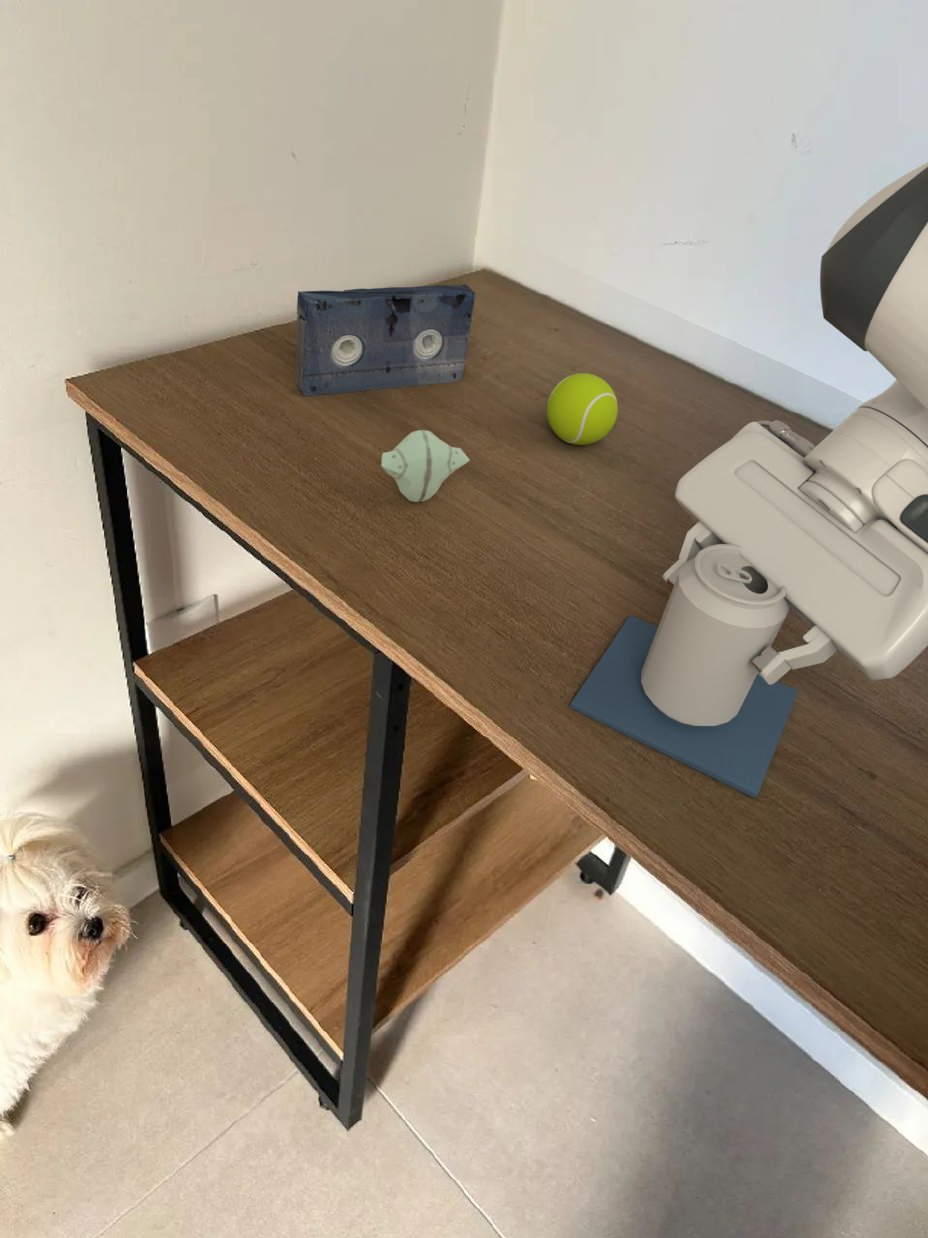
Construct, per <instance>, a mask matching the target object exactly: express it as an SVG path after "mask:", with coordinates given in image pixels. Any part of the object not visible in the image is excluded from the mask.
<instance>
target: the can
mask: <svg viewBox="0 0 928 1238" xmlns="http://www.w3.org/2000/svg"><path fill="white" fill-rule="evenodd" d="M741 550H742V548H741V547H740V546H737V545H733V544H717V545H712V546H707V547H706V548H704V549H702V550H701V551H699V552H698V554H697V556H696V557H695V558H693V559H692V560H690V561H688V562H687V563H685V564H684V565H683V567H682V569H681V570H680V572H679V574H678V577H677V579H676V582H675V585H674V587H673V589H672V590H671V592H670V595H669V598H668V600H667V603H666V606H665V608H664V611H663V614H662V616H661V618H660V622H659V624H658V626H657V627H658V629H657V632H656V634H655V637H654V640H653V642H652V645H651V648H650V650H649V653H648V655H647V658H646V661H645V663H644V666H643V669H642V673H641V683H642V686H643V688H644V691H645V693H646V695H647V696H648V697H649V699H650V700H651V701H652V702H653V704H654V705H655V706H657V708H658V709H659V710H660V711H662V712H663V713H664V714H666V715H667V716H668V717H670V718H672V719H674V720H676V721H678V722H680V723H684V724H688V725H692V726H716V725H720V724H723V723H726V722H729V721H730V720H731V719H732V718H734V717H735V716H736V715H737V714H738V712H739V710H740V708H741V706H742V704H743V702H744V700H745V698H746V696H747V694H748V692H749V690H750V688H751V686H752V684H753V682H754V680H755V678H756V676H757V674H758V673H757V672H756V671H755V670H754V669H753V668H752V666H751V665H750V664H751V662H752V660H753V659H754V658H755V657H757V656H761V653H762V651H763V650H764V649H766V648H767V647H768V646H769V645H770V646H771V647H772V646H773V644H774V641H775V640H776V638H777V635H778V633H779V632H780V629H781V627H782V626H783V623H784V621H785V619H786V617H787V615H788V613H789V610H790V607H789V601H788V600H787V599H786V598H785V595H786V592H787V588H786V587H785V586H782V587H781V590H780V591H779V590H778V589H777V588H776V587H775V586H774V585H772V584H771V583H770V582H769V581H768V580H767V579H766V580H767V581H766V580H765V579H764V578H763V577H762V576H761V575H760V574H758V573H757V572H756V571H755V570H754V569H753V568H752V566H751V565H750V564H749V563H748V562H747V561H746V560H745V559H743V558H742V557H741V556H740V555H739V552H740V551H741ZM762 582H764V583H767V585H768V587H767V586H765V585H764V584H763V583H762Z"/></svg>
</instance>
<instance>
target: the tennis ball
mask: <svg viewBox="0 0 928 1238" xmlns="http://www.w3.org/2000/svg"><path fill="white" fill-rule="evenodd" d="M618 404H619V403H618V399H617V396H616V393H615V391H614V390H613V388H612V386H610V384H608V382H606V380H604V379H603V378H601V377H599V376H597V375H595V374H592V373H587V372H586V373H585V372H579V373H574V374H571V375H568V376H567V377H564V378H563V379H562V380H560V381H559V382H558V383H557V384H556V385H555V386H554V387H553V389H552V391H551V392H550V395H549V396H548V400H547V404H546V416H547V417H546V418H547V421H548V424H549V427H550V428H551V430H552V432H553V433H554V434H555V435H556V436H557V437H558V438H559V439H560V440H562V441H564V442H565V443H568V444H571V445H575V446H587V445H592V444H594V443H597V442H599V441H600V440H602V439H604V438H605V437H606V436H608V434H609V433H610V431H611V430H612V429H613V427H614V425H615V423H616V420H617V417H618V412H619V407H618Z"/></svg>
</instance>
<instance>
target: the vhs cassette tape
mask: <svg viewBox="0 0 928 1238" xmlns="http://www.w3.org/2000/svg"><path fill="white" fill-rule="evenodd" d="M475 299H476V292H475V291H474V290H473V289H472V288H471V287H470V286H469V285H468V284H459V285H457V284H456V285H455V284H454V285H452V284H451V285H450V284H449V285H448V284H443V285H441V284H440V285H439V284H438V285H420V286H397V287H396V286H395V287H393V286H389V287H376V288H375V287H373V288H355V289H354V288H353V289H343V290H306V291H305V290H304V291H303V290H301V291H300V290H298V291H297V300H296V301H297V302H296V303H297V304H296V311H297V312H296V315H297V317H296V329H295V330H296V337H295V341H296V343H295V344H296V345H295V346H296V347H295V369H294V383H295V385H296V387H297V388H298V390H299V392H300V393H301V394H302V396H303V397H315V396H322V395H333V394H335V395H336V394H345V393H356V392H357V393H358V392H366V391H376V390H377V391H378V390H384V389H397V388H408V387H418V386H428V385H429V386H430V385H436V384H437V385H438V384H449V383H458V382H461V381H462V380H463V378H464V373H465V362H466V358H467V351H468V345H469V339H470V332H471V324H472V322H473V313H474V307H475Z"/></svg>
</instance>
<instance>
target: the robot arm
mask: <svg viewBox="0 0 928 1238" xmlns="http://www.w3.org/2000/svg"><path fill="white" fill-rule="evenodd" d="M819 270H820V271H819V289H820V291H819V292H820V301H821V303H820V304H821V310H822V317H823V319H824V320H825V321H826V322H828V323H829V324H830V325H831V326H832V327H834V328H835V329H836V330H837V331H838V332H840V333H841V334H842V335H844V337H846V338H847V339H848V340H850V341H851V342H852V343H853V344H854V345H856V346H857V347H858V348H860V350H862V351H863V352H868V353H869V354H870V355H871V356H872V357H873V358H874V359H875V360H876V361H877V362H878V363H879V364H881V366H882V367H883V368H884V369H885V370H886V371H887V372H889V373H890V374H891V375H892V377H893V378H895V380H894V381H893V383H892V384H891V385H889V387H887V388H886V389H885V390H884V391H882V392H881V393H880V394H877V395H876V396H875V397H872V398H870V399H868V400H866V401H865V402H862V404H861V405H859V406H858V407H857V408H856V409H855V410H854V411H853V412H852V413H851V414H849V415H848V416H847V417H846V418H844V420H843V421H842V422H841V423H839V424H838V426H836V428H834V429H833V430H831V432H830V433H829V434H828V435H827V436H826V437H824V438H823V439H822V440H821V441H820V442H819V443H818V444H817V445H815V444H814V443H812V442H811V441H809V440H808V439H806V438H804V437H803V436H800V435H799V434H797V433H796V432H794V431H793V430H792V429H791V427H790V426H788V425H787V424H786V423H784V422H782V421H780V420H777V419H775V420H773V421H769V420H757V421H751V422H749V423H748V424H746V425H744V426H743V427H742V428H741V429H740V430H739V431H738V432H737V433H736V434H735V435H734V436H733V437H732V438H731V439H730V440H728V441H727V442H725V443H724V444H722V445H721V446H719V447H718V448H717V449H715V450H714V451H712V452H711V453H710V454H708V455H707V456H706V457H704V458H703V459H701V460H700V462H698V463H697V464H696V465H694V466H693V467H691V469H690V470H688V471H687V472H686V473H685V474H684V475H682V477H681V478H680V479H679V480H678V481H677V484H676V487H675V492H674V499H675V500H676V502H677V503H678V505H679V506H680V508H681V509H682V510H683V511H684V513H685V514H686V515H687V517H689V518H690V519H691V521H693V523H695V524H694V525H693V526H692V527H691V528H690V529H689V530H688V531H687V532H686V534H685V538H684V541H683V544H682V546H681V550H680V552H679V555H678V560H676V561H675V562H674V563H673V565H671V566H670V567H669V568H668V569H667V570H666V571H665V572H664V573H663V575H662V579H663V580H664V581H665V582H666V584H667V585H668V586H669V587H670V588H671V589H672V590H673V587H674V585H675V582H676V579H677V577H678V574H679V572H680V570H681V569H682V567H683V565H684V564H685V563H687V562H688V561H690V560H692V559H693V558H695V557H696V556H697V554H698V552H699V551H701V550H702V549H704V548H706V547H707V546H712V545H717V544H733V545H737V546H740V547H741V548H742V550H741V551H740V552H739V555H740V556H741V557H742V558H743V559H745V560H746V561H747V562H748V563H749V564H750V565H751V566H752V568H753V569H754V570H755V571H756V572H757V573H758V574H760V575H761V576H762V577H763V578H764V579H765V580H766V579H767V580H768V581H769V582H770V583H771V584H772V585H774V586H775V587H776V588H777V589H778V590H779V591H780V590H781V587H782V586H785V587H786V588H787V592H786V595H785V598H786V599H787V600H788V601H789V609H791V611H792V612H794V613H795V614H796V615H797V616H798V617H799V618H800V619H802V621H804V622H805V623H806V624H807V625H808V626H809V627H810V628H811V629H809V630H808V631H807V632H806V633H805V634H804V635H803V637H802V640H803V641H804V642H805V644H803V645H799V646H796V647H792V648H789V649H786V650H782V651H778V652H777V651H776V650H775V649H774V648H773V647H772V646H770V645H769V646H768V647H767V648H766V649H764V650H763V651H762V653H761V656H757V657H755V658H754V659H753V660H752V662H751V664H750V665H751V666H752V668H753V669H754V670H755V671H756V672H757V673H758V674H759V675H760V676H761V677H762V678H763V679H764V680H765V681H766V682H767V683H768V684H769V685H771V684H774V683H775V682H776V681H779V680H780V679H781V678H782V677H783V676H784V675H786V674H787V673H788V672H789V671H790V670H791V669H792V670H796V669H802V668H806V667H810V666H814V665H819V664H823V663H825V662H826V661H827V660H829V659H830V658H831V657H832V656H833V655H834V654H835V653H836V652H838V653H839V654H840V655H841V656H843V657H844V658H845V659H846V661H848V662H849V663H850V664H852V666H853V667H855V668H856V669H857V670H858V671H859V672H860V673H861V674H862V675H864V676H865V678H867V679H868V680H870V681H882V680H889V679H892V678H894V677H896V676H897V675H898V674H900V673H901V672H902V671H903V670H905V669H906V668H907V667H908V666H909V665H910V664H911V663H913V661H914V660H915V659H916V658H917V657H918V656H919V655H920V654H922V653H923V651H924V650H926V648H927V647H928V161H927V162H924V163H923V164H922V165H920V166H918V167H916V168H914V169H913V170H911V171H909V172H907V173H906V174H904V175H902V176H901V177H899V178H897V179H896V180H894V181H892V182H891V183H889V184H887V185H886V186H885V187H883V188H882V189H881V190H879V191H878V192H876V193H875V194H874V195H873V196H871V197H870V198H868V200H866V201H865V202H863V204H862V205H861V206H859V208H857V209H856V210H855V211H854V212H853V213H852V214H851V215H850V216H849V217H848V218H847V219H846V220H845V222H844V223H843V224H842V225H841V227H840V228H839V229H838V231H837V232H836V233H835V234H834V236H833V238H831V241H830V243H829V244H828V247H827V249H826V251H825V252H824V253H823V255H821V260H820V269H819ZM765 427H766V428H765ZM767 580H766V581H767ZM762 583H763V584H764V585H765V586H767V587H768V585H767V583H764V582H762Z"/></svg>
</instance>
